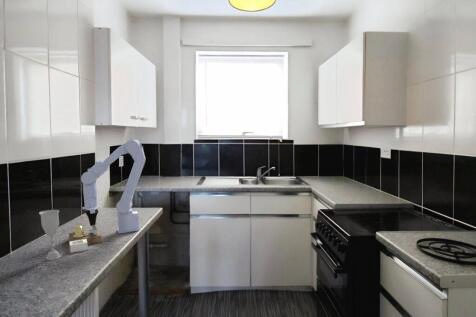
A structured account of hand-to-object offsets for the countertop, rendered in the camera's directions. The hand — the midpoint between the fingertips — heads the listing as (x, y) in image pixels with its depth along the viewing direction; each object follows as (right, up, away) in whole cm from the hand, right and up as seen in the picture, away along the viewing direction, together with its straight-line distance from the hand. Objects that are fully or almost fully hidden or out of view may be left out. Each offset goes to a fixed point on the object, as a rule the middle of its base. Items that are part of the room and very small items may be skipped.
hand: (92, 225), depth 172 cm
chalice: (-3, -7, -32) cm, 32 cm away
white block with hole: (+3, -6, -23) cm, 24 cm away
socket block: (+1, -5, -11) cm, 12 cm away
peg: (0, -2, -15) cm, 15 cm away
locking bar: (+3, -1, -10) cm, 10 cm away
